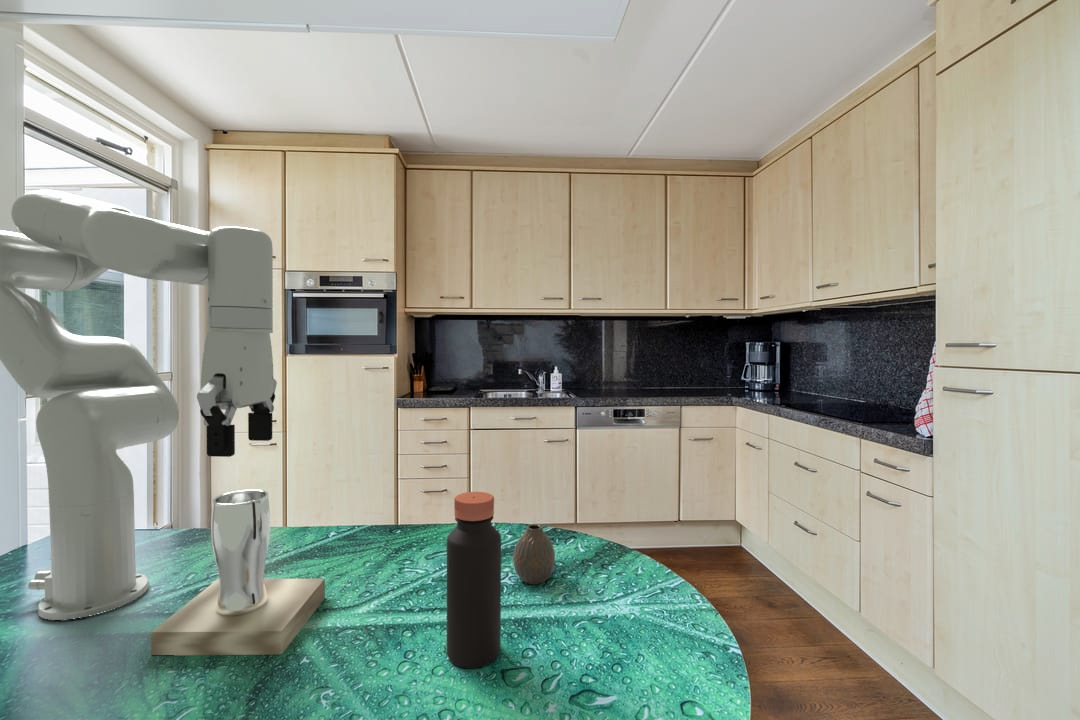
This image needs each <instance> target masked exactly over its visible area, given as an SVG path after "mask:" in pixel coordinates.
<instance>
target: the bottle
mask: <svg viewBox="0 0 1080 720" xmlns="http://www.w3.org/2000/svg"><path fill="white" fill-rule="evenodd" d="M494 515H495V497H494V495H493V494H491V493H489V492H485V491H467V492H464V493H463V492H462V493H460V494H457V495H456V496H455V497H454V520H455V522H456V526H455V527H454V528H453V529H452V531H451V532H449V534H448V535H447V538H446V656H447V658H448V661H450V663H452V664H454V665H455V666H457V667H460V668H463V669H464V668H466V669H478V668H482V667H485V666H487V665H489V664H491V663H494V661H496V659H497V658H498V657H499V655H500V652H501V640H502V639H501V638H502V637H501V635H502V634H501V633H502V632H501V627H502V626H501V623H502V622H501V621H502V620H501V618H502V617H501V616H502V614H501V611H502V610H501V609H502V606H501V605H502V604H501V603H502V583H501V582H502V534H501V533H500V532H499V531H498V529H496V528H495V527H494V525H492V521H493V519H494Z"/></svg>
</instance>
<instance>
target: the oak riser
mask: <svg viewBox="0 0 1080 720" xmlns="http://www.w3.org/2000/svg"><path fill="white" fill-rule="evenodd" d="M264 581H265V586H266V590H267V595H268V599H267V602H266V603H265V604H264V605H263V606H262V607H260V608H259V609H257V610H255V611H252V612H249V613H246V614H242V615H236V616H225V615H221V614H219V613H218V612H217V602H218V596H219V590H220V581H219V578H217V579H216V580H214V582H212V583H211V584H210V585H208V586H207V587H206V588H205V589H203V590H202V591H201V592H199V593H198V594H197V595H196V596H195V597H193V598H192V599H191V600H189V601H188V602H187V603H185V604H184V605H183V606H182V607H181V608H178V610H177V611H175V612H174V613H173V614H172V615H171V616H169V617H168V618H167V619H165V620H164V621H163V622H162V623H160V624H159V625H157V626H156V627H155V628H154V629H153V630H152V631H150V655H174V656H255V655H257V656H258V655H259V656H260V655H264V656H266V655H267V656H268V655H270V656H272V655H273V656H275V655H276V656H277V655H279V656H280V655H281V656H282V655H283V654H284V652H285V651H286V650H287V649H288V647H289V646H290V644H291V643H292V641H293V640H294V639H295V638H296V637H297V635H298V634H299V632H301V630H302V629H303V627H304V626H305V625H306V623H307V622H308V621H309V619H310V618H311V617H312V615H313V614H314V613H315V612H316V611H317V609H318V608H319V606H320V605H321V604H322V602H323V601H324V600H325V598H326V587H325V586H326V584H325V583H326V578H264Z"/></svg>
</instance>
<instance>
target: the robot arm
mask: <svg viewBox="0 0 1080 720" xmlns="http://www.w3.org/2000/svg"><path fill="white" fill-rule="evenodd" d="M10 214H11V219H12V221H13V224H14V225H15V228H17V229H18V231H20V232H15V231H8V230H1V229H0V361H1V363H2V364H3V366H4V367H5V369H6V370H7V371H8V373H9V374H10V376H11V377H12V378H13V380H14V382H15V383H17V384H18V386H19V387H20V388H21V390H23V391H24V392H25V393H27V394H28V395H30V396H32V397H35V398H39V399H40V398H41V399H48V401H46V402H45V403H44V404H43V405H42V406H41V407H40V409H39V411H38V412H37V416H36V420H35V427H36V433H37V437H38V441H39V443H40V447H41V449H42V453H43V457H44V461H45V467H46V475H47V487H48V488H47V489H48V506H49V509H48V510H49V532H50V533H49V537H50V540H49V541H50V561H51V562H50V563H51V564H50V565H51V566H50V567H51V569H41V570H39V571H37V572H36V574H35V575H34V579H32V580H31V581H30V582H29V583H28V585H27V588H28V589H29V590H30V591H31V590H32V591H33V590H35V591H36V590H37V591H39V590H44V597H43V598H42V599H41V600H40V601H39V603H38V604H37V615H38V616H39V617H40V618H41V619H44V620H47V619H48V620H49V621H54V620H61V621H67V620H66V619H73V618H79V617H86V616H89V615H94V614H97V613H101V612H104V611H108V610H111V609H114V608H117V607H119V606H121V607H123V606H122V605H124V606H126V605H128V604H130V603H132V602H133V600H134V601H135V600H137V599H138V597H139V598H140V597H142V596H143V594H145V593H146V592H147V591H148V590H149V586H150V582H149V577H147V575H144V574H142V573H138V572H137V570H136V569H137V565H136V561H137V560H136V531H135V530H136V526H135V492H134V479H133V475H132V473H131V470H130V468H129V467H128V466H127V464H126V463H125V462H124V461H123V460H122V458H120V456H119V455H118V453H117V450H120V449H123V448H129V447H134V446H138V445H144V444H148V443H152V442H156V441H160V440H162V439H164V438H166V437H168V436H169V435H171V434H172V433H173V432H174V431H175V430H176V428H177V427H178V425H179V421H180V411H179V410H180V409H179V406H178V403H177V400H176V399H175V397H174V395H173V393H172V391H170V389H169V388H168V386H167V385H166V383H165V382H164V381H163V380H162V378H161V377H160V375H159V374H158V373H157V372H156V370H155V369H154V367H153V366H152V365H151V364H150V363H149V361H148V360H147V359H146V357H145V356H144V355H143V354H142V352H141V351H140V350H139V349H138V348H137V347H136V346H135V345H133V344H132V343H130V342H129V341H127V340H125V339H123V338H120V337H116V336H108V335H107V336H105V335H80V334H76V333H73V332H72V333H71V332H70V331H69V330H68V329H66V327H65V326H64V325H63V324H62V323H61V321H60V320H59V318H58V317H57V316H56V314H55V313H54V312H53V311H52V310H50V308H49V307H47V305H45V304H43V303H41V301H39V300H37V299H36V298H34V297H32V296H30V295H28V294H27V293H25V292H23V291H21V290H20V289H32V290H42V291H43V290H44V291H54V292H55V291H57V292H73V291H77V290H81V289H82V288H84V287H86V286H88V285H90V284H91V283H93V282H94V281H95V280H96V279H97V278H99V277H100V276H102V275H103V274H104V273H106V272H107V271H108V270H111V271H115V272H118V273H123V274H125V275H130V276H133V277H137V278H142V279H148V280H156V281H163V282H165V281H166V282H175V283H182V284H188V285H196V286H197V285H198V286H205V287H207V299H208V300H207V302H208V304H207V309H208V315H207V316H208V321H207V323H208V326H207V327H208V328H207V329H208V331H207V332H206V336H205V339H204V340H205V341H204V345H203V346H204V347H203V352H202V353H203V354H202V362H201V376H200V378H201V379H200V390H199V391H198V392H197V394H196V399H197V400H196V401H197V402H198V404H199V407H200V408H199V409H200V411H199V412H200V415H201V416H202V418H203V425H204V426H206V455H207V456H208V457H222V458H223V457H224V458H225V457H226V458H229V457H230V458H231V457H232V456H234V455H235V453H236V443H235V442H236V441H235V438H236V437H235V436H236V435H235V434H236V431H235V429H236V427H235V425H236V424H232V422H233V420H234V419H233V418H234V416H235V415H236V411H237V410H238V409H242V408H247V407H249V409H250V411H251V412H248V413H247V420H248V422H247V423H248V425H247V426H248V427H247V428H248V429H247V432H248V433H247V434H248V436H247V437H248V440H249V441H252V442H253V441H254V442H255V441H256V442H257V441H262V442H265V441H266V442H267V441H268V442H269V441H271V440H272V439H273V412H274V410H275V409H274V408H275V406H274V403H275V399H276V394H275V393H276V389H277V385H278V383H277V380H276V379H275V378H274V364H273V363H274V359H273V349H272V347H273V346H272V341H271V339H272V338H271V334H274V333H273V331H274V330H273V328H274V327H273V326H274V325H273V324H274V321H273V319H274V318H273V317H274V316H273V315H274V312H273V310H274V309H273V308H274V307H273V305H274V304H273V302H274V300H273V291H274V290H273V285H274V284H273V283H274V282H273V278H274V277H273V269H274V268H273V261H274V260H273V257H274V256H273V251H274V250H273V240H272V239H271V237H270V236H269V235H268V234H267V233H266V232H264V231H261V230H259V229H255V228H250V227H249V228H248V227H241V226H231V225H230V226H218V227H215V228H212V229H211V230H210V231H206V230H202V229H198V228H194V227H189V226H186V225H181V224H176V223H172V222H167V221H163V220H158V219H153V218H150V217H145V216H141V215H137V214H135V213H134V212H133V211H131V210H130V209H128V208H126V207H124V206H121V205H117V204H113V203H108V202H105V201H100V200H98V199H97V200H96V199H93V198H89V197H84V196H80V195H76V194H73V193H68V192H65V191H60V190H55V189H37V190H32V191H28V192H26V193H24V194H22V195H21V196H19V197H18V198H17V199H16V200H15V201H14V202H13V204H12V207H11V213H10ZM18 288H19V289H18ZM222 410H224V411H225V412H223V411H222ZM131 601H132V602H131ZM129 602H130V603H129ZM127 603H128V604H127ZM125 604H126V605H125ZM119 608H120V607H119ZM117 609H118V608H117ZM114 610H115V609H114ZM111 611H112V610H111ZM108 612H109V611H108ZM94 616H95V615H94ZM86 618H87V617H86ZM64 619H65V620H64ZM48 620H47V621H48Z"/></svg>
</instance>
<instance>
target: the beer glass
mask: <svg viewBox="0 0 1080 720" xmlns="http://www.w3.org/2000/svg"><path fill="white" fill-rule="evenodd" d="M211 512H212V513H211V521H210V523H211V525H210V527H211V528H210V529H211V531H210V533H211V545H212V550H213V555H214V559H215V564H216V567H217V572H218V579H219V581H220V590H219V596H218V602H217V612H218V613H219V614H221V615H225V616H236V615H242V614H246V613H249V612H252V611H255V610H257V609H259V608H260V607H262V606H263V605H264V604H265V603H266V602H267V599H268V595H267V590H266V586H265V581H264V579H265V567H266V560H267V556H268V555H267V554H268V551H269V550H268V549H269V544H270V535H271V509H270V501H269V493H268V491H266V490H263V489H242V490H236V491H230V492H226V493H223V494H219V495H217V496H216V497H214V498H213V499H212V511H211Z"/></svg>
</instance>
